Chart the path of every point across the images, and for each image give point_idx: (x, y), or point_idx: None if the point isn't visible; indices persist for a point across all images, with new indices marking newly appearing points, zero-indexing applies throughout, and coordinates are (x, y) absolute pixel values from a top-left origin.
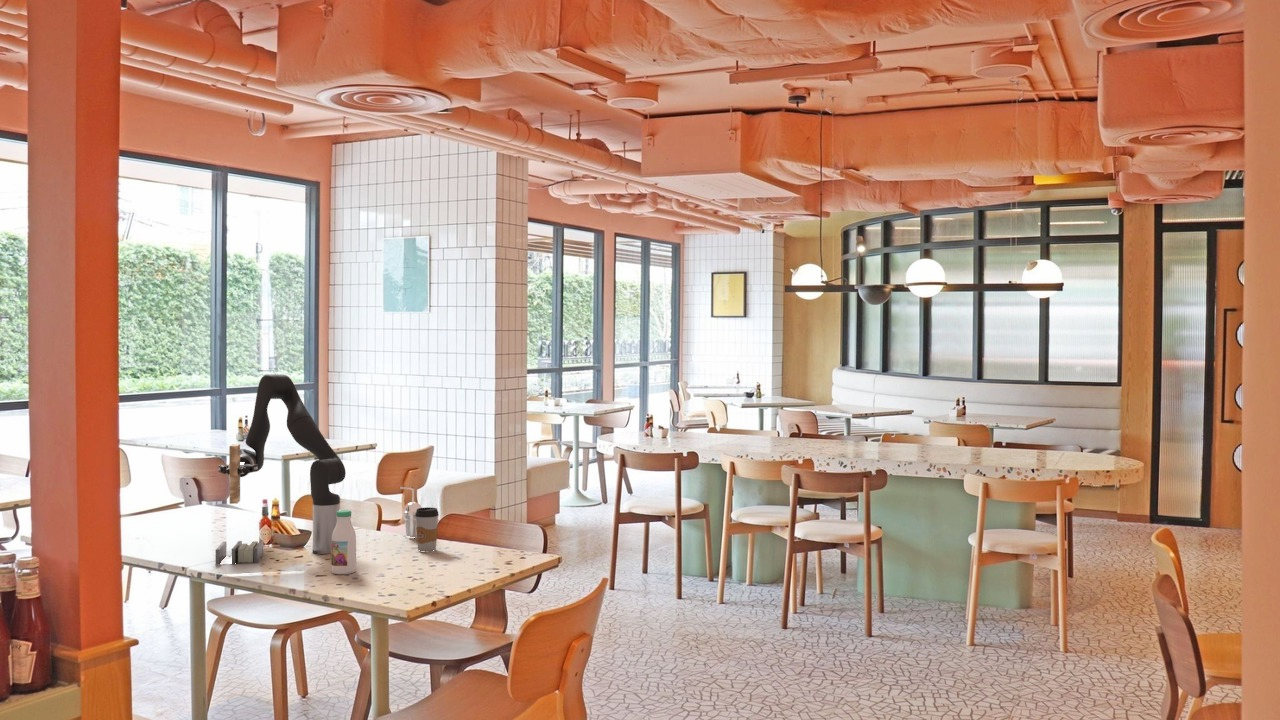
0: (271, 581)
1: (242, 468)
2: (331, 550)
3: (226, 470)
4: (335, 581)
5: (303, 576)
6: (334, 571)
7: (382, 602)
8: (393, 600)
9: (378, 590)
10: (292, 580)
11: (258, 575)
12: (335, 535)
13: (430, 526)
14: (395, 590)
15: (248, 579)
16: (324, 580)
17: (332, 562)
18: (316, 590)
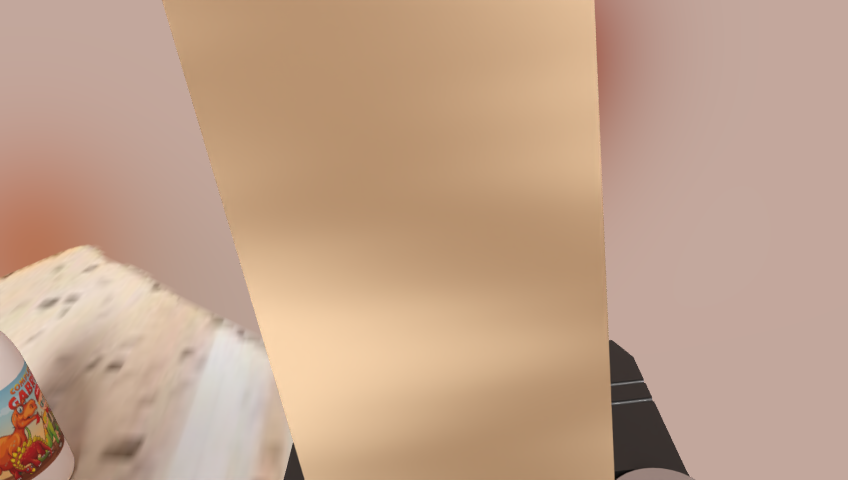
0: None
1: (293, 459)
2: (39, 407)
3: (616, 360)
4: (111, 388)
5: (182, 441)
6: (70, 449)
7: (97, 268)
8: (71, 277)
9: (55, 325)
10: (229, 400)
11: None
12: (9, 339)
13: None
14: (21, 325)
15: None
16: (136, 398)
17: (60, 431)
18: (191, 323)
